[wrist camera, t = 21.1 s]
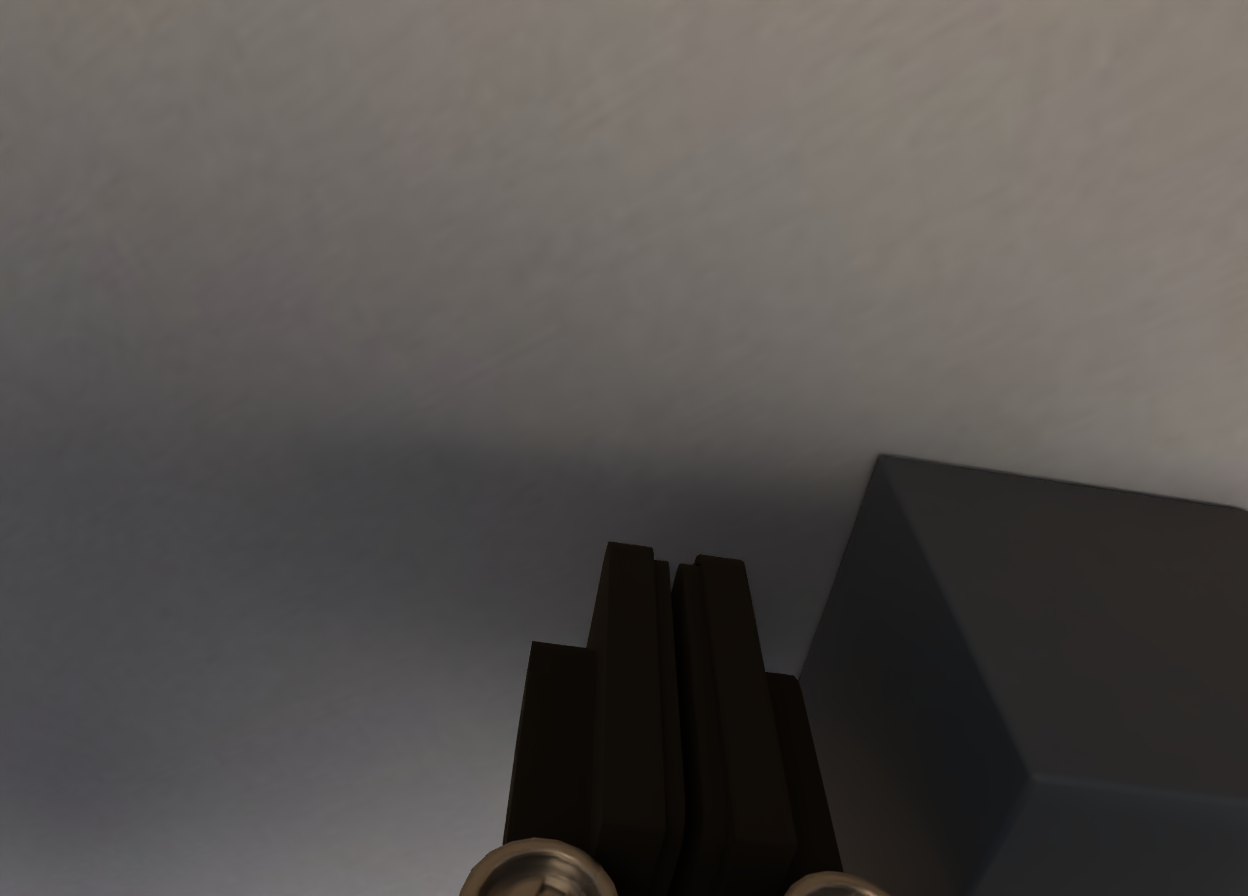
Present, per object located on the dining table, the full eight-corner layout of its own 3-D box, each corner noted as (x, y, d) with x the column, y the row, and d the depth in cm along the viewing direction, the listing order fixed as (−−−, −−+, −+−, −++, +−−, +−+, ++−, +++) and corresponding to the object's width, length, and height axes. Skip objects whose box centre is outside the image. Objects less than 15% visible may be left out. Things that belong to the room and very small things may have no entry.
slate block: (777, 734, 14) (848, 1103, 10) (877, 453, 11) (1033, 776, 7) (1089, 773, 14) (1292, 1144, 10) (1249, 509, 12) (1613, 847, 7)
